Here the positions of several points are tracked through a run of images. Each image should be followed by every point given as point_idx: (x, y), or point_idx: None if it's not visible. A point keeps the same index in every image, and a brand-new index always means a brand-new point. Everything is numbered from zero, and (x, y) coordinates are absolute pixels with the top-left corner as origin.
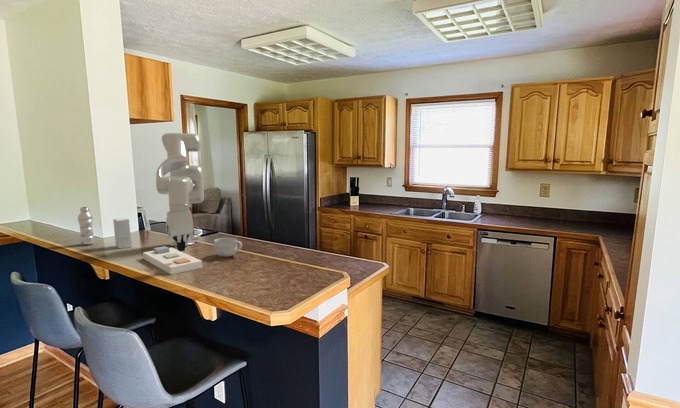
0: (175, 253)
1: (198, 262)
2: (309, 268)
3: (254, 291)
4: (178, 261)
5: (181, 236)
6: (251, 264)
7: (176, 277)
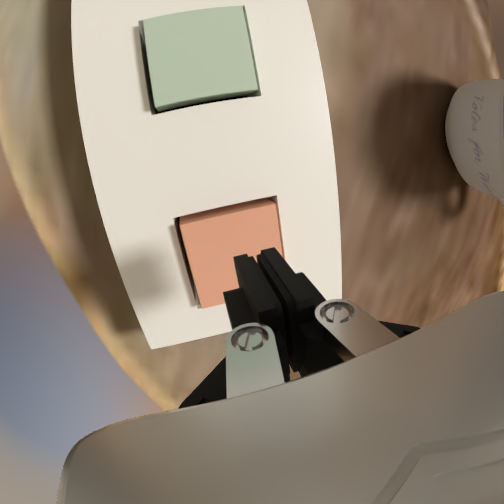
0: (244, 19)
1: None
2: None
3: None
4: (208, 280)
5: (346, 355)
6: None
7: (174, 368)
